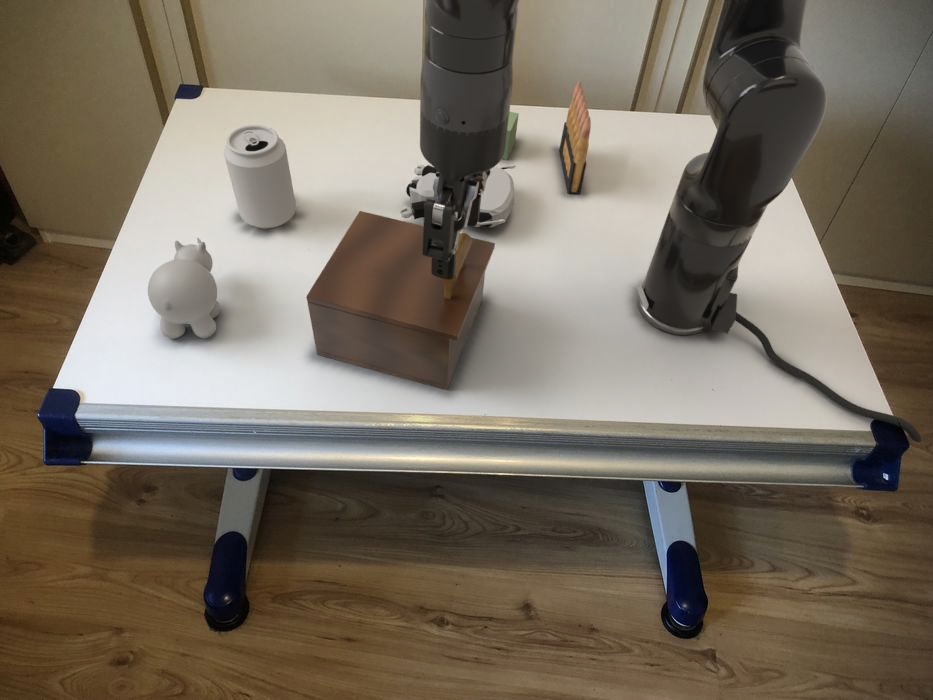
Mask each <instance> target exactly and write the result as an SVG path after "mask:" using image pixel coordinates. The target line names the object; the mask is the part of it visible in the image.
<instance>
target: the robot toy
mask: <svg viewBox="0 0 933 700" xmlns="http://www.w3.org/2000/svg"><path fill="white" fill-rule="evenodd" d="M516 167H517V165H514V164H509V165H505V166H500V167H493V168H491V169H490V171H491V172H490V176H488V179H487V180H486V184H485V190H484V191H483V193H482V194H481V203H480V214H479V221H478V223H477V225H475V226H472V225H467V227H474V228H486V229H487V228H494V227H497V226H498V225H500V224H505V222H506V221H507V219H508V218H509V216H510V214H511V213H512V210H513V207H514V206H515V184H514V180H513V177H512V176H511V174H509V172H508V171H506V170H508V169H510V170H512V169H515V168H516ZM436 172H438V171H437V170H436V169H435V168H434V167H433V166H432V165H431V164H428V165H423V164H419V165H417V166H416V167H415V168H414V170H413V173H414V174H415V175H416V177H414V178H413V179H411V183H409V184H408V185H407V187H406V190H405V192H406V195H407V196H408V197H409V198H410V202H411V207H410V206H404V207H402V208H400V210H399V211H400V215H401V217H402V219H409V218H411V217H413V218H414V220H417V219H418V220H419V219H424V204H425V202H426V200H427V199H432V200H433V196H434V190H433V183H434V178H435V175H436ZM457 213H458V212H456V213H455V214H456V217H455V219H457Z"/></svg>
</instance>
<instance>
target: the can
mask: <svg viewBox="0 0 933 700" xmlns="http://www.w3.org/2000/svg"><path fill="white" fill-rule="evenodd" d="M223 156H224V160H225V164H226V167H227V168H226V169H227V171H228V176H229V179H230V183H231V187H232V191H233V195H234V199H235V203H236V206H237V209H238V214H239V216H240V218H241V220H243V221H244V222H245V223H246V224H247V225H250V226H251V227H255V228H259V229H274V228H277V227H278V228H279V227H280V226H282V225H284V224H286V223H287V222H288V221H289V220H290V219H291V218H293V216H294V215H295V213H296V211H297V203H296V198H295V197H296V196H295V192H294V186H293V180H292V175H291V170H290V165H289V164H290V163H289V158H288V153H287V146H286V144H285V142H284V140H283V139H282V138H281V137H280V136H279V134H278V132H277V131H276V130H275V129H273V128H272V127H269V126H267V125H263V124H248V125H243V126H240V127H238V128H235V129H234V130H233V131H231V132H230V133H229V134H228V136H227V137H226V144H225V146H224V148H223Z"/></svg>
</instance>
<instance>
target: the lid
mask: <svg viewBox="0 0 933 700" xmlns="http://www.w3.org/2000/svg"><path fill="white" fill-rule="evenodd" d="M423 228H424V225H421V224H417V223H414V222H413V223H412V222H408V221H405V220H400V219H396V218H392V217H388V216H384V215H378V214H375V213H370V212H366V211H364V210H363V211H362V210H359V211H358V213H357V214H356V216H355V218H354V219H353V221H352V222H351V224H350V225H349V227H348V229H347V230H346V232H345V234H344V235H343V236H342V239H341V240H340V242H339V243H338V245H337V246H336V248H335V250H334V251H333V253H332V255H331V256H330V258H329V259H328V261H327V262H326V264H325V266H324V267H323V269H322V270H321V272H320V274H319V275H318V277H317V279H316V280H315V281H314V283H313V285H312V287H311V288H310V290H309V292H307V294H306V302H311V303H315V304H319V305H323V306H326V307H330V308H334V309H338V310H342V311H346V312H349V313H353V314H357V315H361V316H365V317H368V318H372V319H376V320H380V321H384V322H388V323H391V324H395V325H399V326H403V327H407V328H410V329H414V330H418V331H422V332H426V333H430V334H433V335H437V336H441V337H445V338H449V339H452V340H456V341H457V340H458V337H459V335H460V332H461V330H462V327H463V325H464V322H465V320H466V317H467V315H468V312H469V310H470V307H471V305H472V303H473V300H474V298H475V295H476V293H477V290H478V288H479V285H480V283H481V280H482V278H483V275H484V273H485V274H486V271H487V268H488V265H489V263H490V260H491V257H492V255H493V253H494V250H495V246H496V243H495V242H493V241H487V240H485V239H479V238H476V237H472V236H471V235H470V234H468V233H467V232H460V236H459V240H458V245H457V246H458V249H457V251H456V264H455V274H454V276H453V278H452V279H451V280H447V279H444V278H440V277H436V276H434V275H433V274H432V273H431V266H432V258H431V257H427V256H423V251H422V248H423Z"/></svg>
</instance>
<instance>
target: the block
mask: <svg viewBox="0 0 933 700" xmlns="http://www.w3.org/2000/svg"><path fill="white" fill-rule="evenodd" d="M519 114H520V113H518V112H514V111H511V110H510V111H509V119H508V127H507V136H506V144H505V152H504V155H503V157H502V159H501V160H506V161H507V160H508V159H509V157H510V155H511V153H512V150H513V148H514V145H515V144H516V139H517V131H518V123H519Z"/></svg>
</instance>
